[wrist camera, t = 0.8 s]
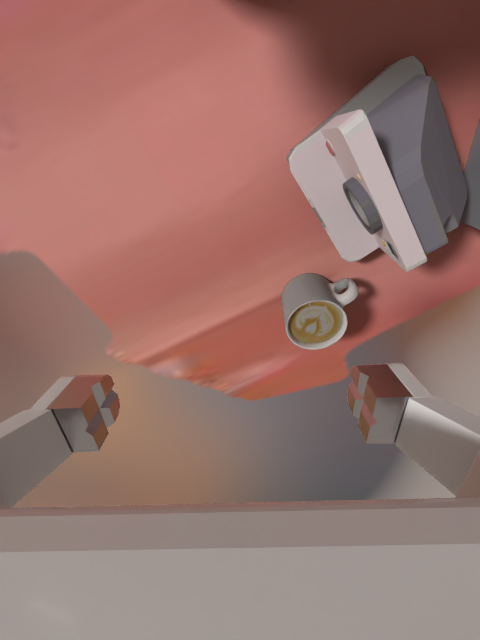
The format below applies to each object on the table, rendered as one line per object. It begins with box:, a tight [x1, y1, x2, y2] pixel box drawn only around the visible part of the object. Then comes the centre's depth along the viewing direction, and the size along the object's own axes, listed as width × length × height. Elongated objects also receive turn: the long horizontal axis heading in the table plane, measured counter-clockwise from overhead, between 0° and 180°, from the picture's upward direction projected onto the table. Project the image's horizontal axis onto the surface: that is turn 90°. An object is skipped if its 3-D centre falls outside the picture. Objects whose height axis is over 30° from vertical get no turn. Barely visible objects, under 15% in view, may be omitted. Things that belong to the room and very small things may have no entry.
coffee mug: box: [282, 273, 358, 349], centre depth 48 cm, size 13×10×10 cm
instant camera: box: [286, 55, 467, 272], centre depth 35 cm, size 21×21×15 cm
